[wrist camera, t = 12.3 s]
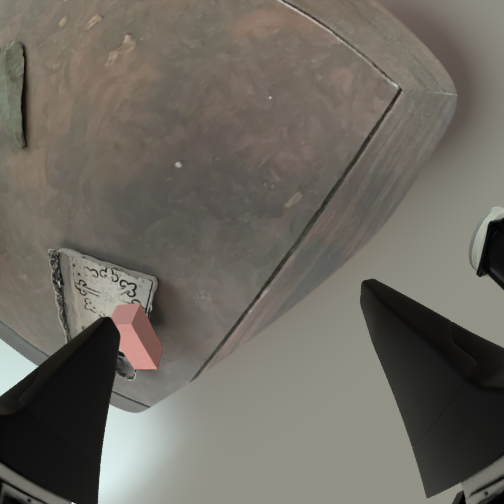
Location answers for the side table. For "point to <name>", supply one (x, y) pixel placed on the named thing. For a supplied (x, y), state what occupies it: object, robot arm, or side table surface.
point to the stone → (12, 91)
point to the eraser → (137, 336)
